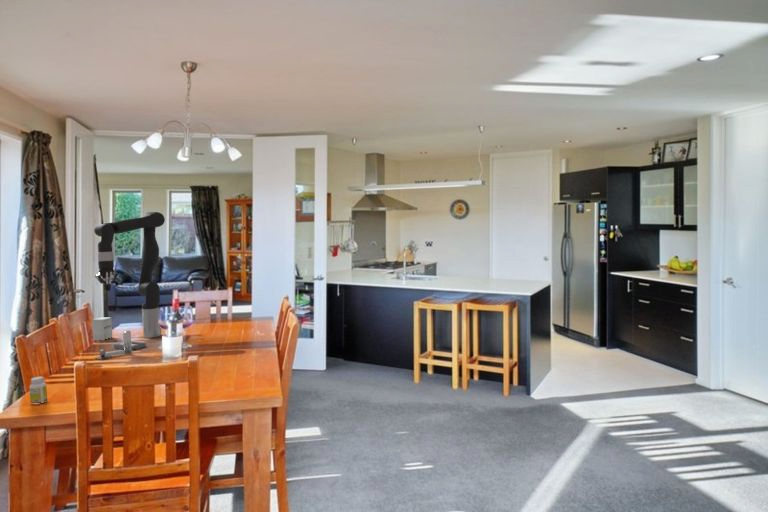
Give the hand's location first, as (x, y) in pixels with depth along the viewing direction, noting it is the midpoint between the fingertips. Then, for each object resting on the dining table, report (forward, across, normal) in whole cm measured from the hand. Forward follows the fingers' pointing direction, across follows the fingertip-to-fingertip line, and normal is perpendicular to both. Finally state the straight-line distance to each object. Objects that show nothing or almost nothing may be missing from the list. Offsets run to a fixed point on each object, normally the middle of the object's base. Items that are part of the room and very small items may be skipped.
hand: (107, 290), depth 285 cm
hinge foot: (+31, +20, +21) cm, 42 cm away
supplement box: (+31, -9, -19) cm, 38 cm away
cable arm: (+30, +15, +24) cm, 41 cm away
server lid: (+31, 0, +15) cm, 34 cm away
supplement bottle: (+31, +74, +59) cm, 100 cm away
